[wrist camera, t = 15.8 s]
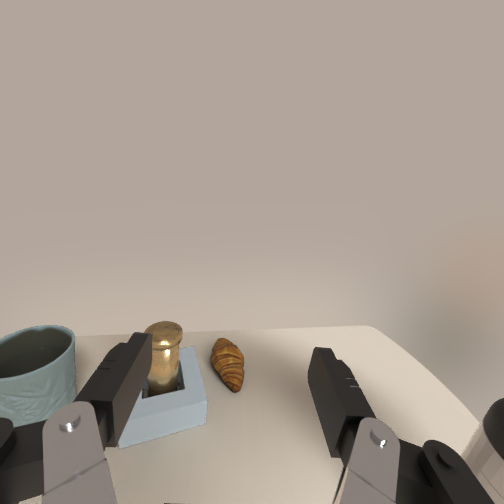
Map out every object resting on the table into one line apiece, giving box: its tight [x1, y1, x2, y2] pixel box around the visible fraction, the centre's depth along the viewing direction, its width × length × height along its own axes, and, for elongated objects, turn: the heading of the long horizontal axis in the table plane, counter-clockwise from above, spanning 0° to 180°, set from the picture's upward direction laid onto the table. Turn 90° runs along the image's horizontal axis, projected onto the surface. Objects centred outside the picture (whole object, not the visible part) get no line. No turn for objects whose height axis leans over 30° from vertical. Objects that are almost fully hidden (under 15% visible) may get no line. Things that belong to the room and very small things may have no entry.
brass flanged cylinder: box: [144, 321, 182, 398], centre depth 39 cm, size 5×5×14 cm
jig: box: [118, 346, 208, 449], centre depth 40 cm, size 12×12×5 cm
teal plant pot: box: [0, 325, 77, 427], centre depth 35 cm, size 10×10×12 cm
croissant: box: [211, 338, 244, 392], centre depth 49 cm, size 14×7×5 cm, turn 20°
